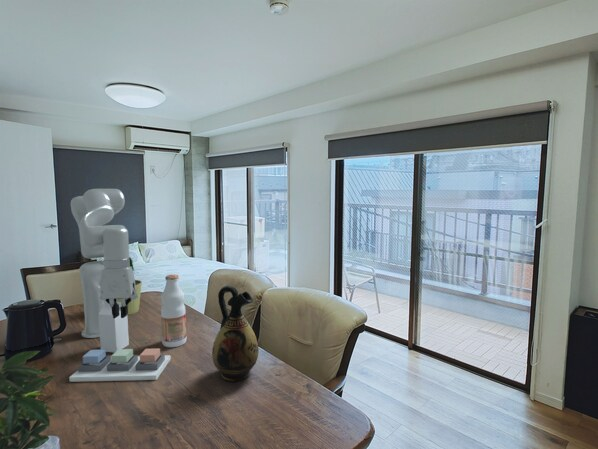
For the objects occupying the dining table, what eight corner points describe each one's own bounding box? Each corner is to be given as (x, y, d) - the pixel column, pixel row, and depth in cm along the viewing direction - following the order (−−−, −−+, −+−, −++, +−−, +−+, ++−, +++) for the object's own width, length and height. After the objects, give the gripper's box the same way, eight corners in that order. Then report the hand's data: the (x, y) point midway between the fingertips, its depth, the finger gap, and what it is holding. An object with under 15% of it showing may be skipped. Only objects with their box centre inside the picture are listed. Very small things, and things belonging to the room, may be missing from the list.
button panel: (93, 360, 127) (92, 351, 127) (170, 359, 128) (170, 350, 128) (69, 381, 113) (68, 371, 113) (156, 379, 114) (155, 369, 114)
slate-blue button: (91, 356, 122) (90, 349, 122) (105, 356, 122) (105, 349, 122) (83, 363, 117) (82, 356, 117) (98, 363, 117) (97, 356, 117)
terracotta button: (146, 355, 123) (145, 348, 123) (160, 355, 123) (160, 348, 123) (140, 362, 118) (139, 355, 118) (154, 362, 118) (154, 355, 118)
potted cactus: (114, 307, 185) (111, 252, 182) (145, 305, 188) (142, 250, 186) (105, 317, 170) (102, 257, 167) (139, 315, 174) (136, 256, 171)
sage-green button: (118, 356, 122) (118, 349, 122) (133, 355, 123) (132, 348, 122) (111, 363, 117) (111, 355, 117) (126, 362, 118) (126, 355, 117)
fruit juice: (157, 345, 139) (154, 277, 137) (174, 336, 148) (171, 272, 145) (174, 349, 135) (171, 279, 133) (191, 340, 144) (189, 274, 141)
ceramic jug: (266, 366, 122) (265, 283, 119) (245, 390, 108) (243, 296, 105) (224, 359, 128) (222, 279, 125) (199, 380, 113) (196, 291, 110)
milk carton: (116, 353, 133) (113, 305, 131) (100, 351, 134) (97, 303, 132) (129, 345, 140) (126, 299, 138) (113, 343, 141) (111, 298, 139)
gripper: (86, 266, 113) (90, 321, 115) (136, 266, 113) (139, 320, 115) (99, 261, 120) (102, 313, 122) (145, 261, 121) (148, 312, 123)
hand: (120, 316), depth 119 cm, fingers closed
